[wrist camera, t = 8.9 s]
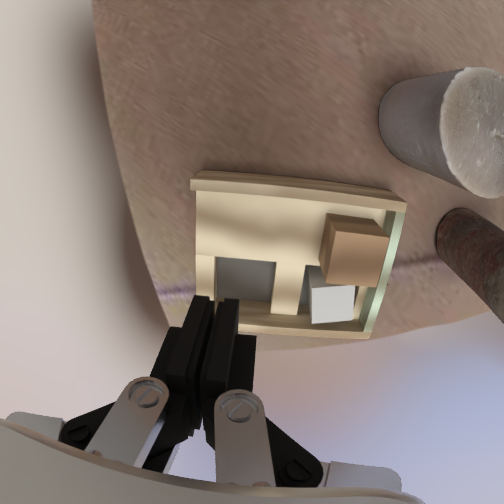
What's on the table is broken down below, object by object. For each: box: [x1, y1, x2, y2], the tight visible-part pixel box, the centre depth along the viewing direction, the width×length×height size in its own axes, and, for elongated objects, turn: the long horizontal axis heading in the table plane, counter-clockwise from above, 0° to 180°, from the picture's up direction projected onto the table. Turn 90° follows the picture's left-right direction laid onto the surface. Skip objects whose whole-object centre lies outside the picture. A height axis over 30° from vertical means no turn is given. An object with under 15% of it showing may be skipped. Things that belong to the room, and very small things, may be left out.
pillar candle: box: [378, 67, 504, 199], centre depth 21 cm, size 10×10×15 cm
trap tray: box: [190, 170, 407, 339], centre depth 32 cm, size 16×20×5 cm
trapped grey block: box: [307, 267, 355, 324], centre depth 34 cm, size 4×4×4 cm
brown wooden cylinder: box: [437, 208, 504, 323], centre depth 23 cm, size 8×7×20 cm
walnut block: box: [318, 213, 390, 287], centre depth 29 cm, size 5×5×5 cm
